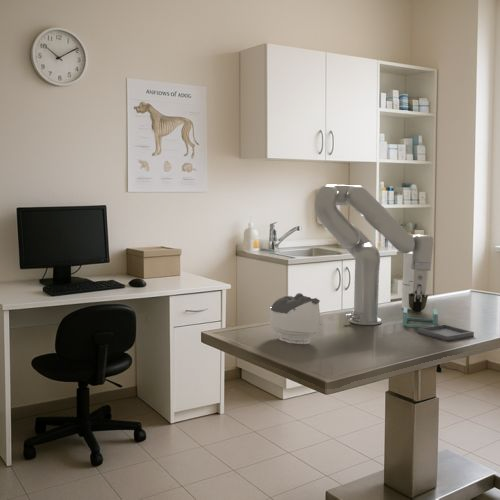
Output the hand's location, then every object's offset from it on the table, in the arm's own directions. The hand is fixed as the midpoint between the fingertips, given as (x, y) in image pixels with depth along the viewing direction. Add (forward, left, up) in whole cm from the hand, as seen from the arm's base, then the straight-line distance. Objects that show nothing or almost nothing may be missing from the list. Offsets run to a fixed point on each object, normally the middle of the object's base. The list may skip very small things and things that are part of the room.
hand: (416, 309), depth 244 cm
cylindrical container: (+20, +24, -6) cm, 32 cm away
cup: (0, 0, -2) cm, 2 cm away
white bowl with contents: (-57, +2, -6) cm, 57 cm away
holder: (+1, -1, -6) cm, 6 cm away
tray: (-3, -18, -6) cm, 19 cm away
